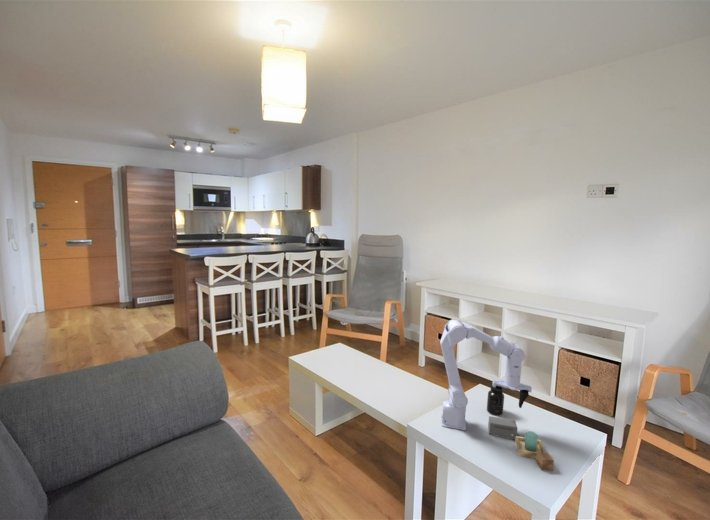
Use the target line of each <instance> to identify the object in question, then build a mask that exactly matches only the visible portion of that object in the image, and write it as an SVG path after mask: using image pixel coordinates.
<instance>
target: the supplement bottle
mask: <svg viewBox="0 0 710 520" xmlns="http://www.w3.org/2000/svg"><path fill="white" fill-rule="evenodd" d="M486 401H487V402H486V411H487V412H488V413H489V414H490V415H492V416H495V417H497V416H502V415H503V414H504V406H505V405H504V402H505V395H504V393H503V392H502V402H501V405H499V398H498V394H497V391H496V388H495V387H493V384H491V385H490V390H488V392H487V399H486Z"/></svg>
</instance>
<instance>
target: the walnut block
mask: <svg viewBox="0 0 710 520" xmlns="http://www.w3.org/2000/svg"><path fill="white" fill-rule="evenodd" d="M545 452H546V451H545ZM545 452H537V454H536V459H535V464H536V465H537V466H538V467H539V469H540V470H541V471H554V466H555V465H554V464H555V460H554V458H553V457H552V456H551V455H550V453H549V452H546V453H545Z"/></svg>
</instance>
